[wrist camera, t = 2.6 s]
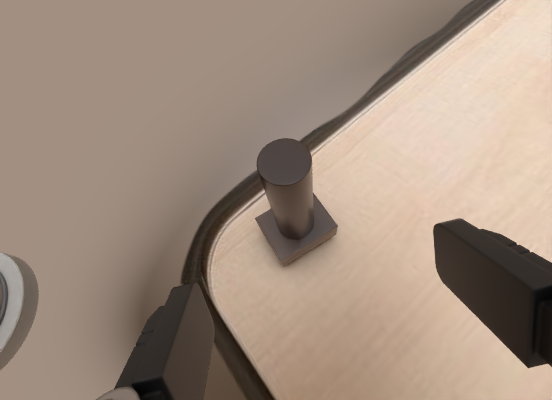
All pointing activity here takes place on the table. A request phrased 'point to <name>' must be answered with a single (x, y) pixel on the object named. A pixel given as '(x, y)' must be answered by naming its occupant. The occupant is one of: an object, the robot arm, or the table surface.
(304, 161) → the brown peg on base
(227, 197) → the table surface
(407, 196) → the table surface
